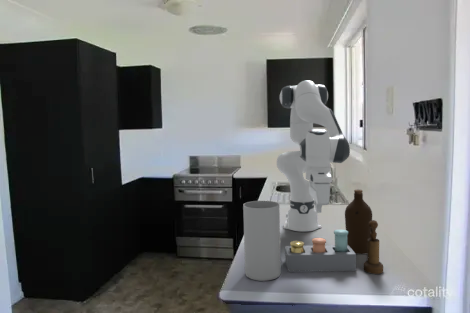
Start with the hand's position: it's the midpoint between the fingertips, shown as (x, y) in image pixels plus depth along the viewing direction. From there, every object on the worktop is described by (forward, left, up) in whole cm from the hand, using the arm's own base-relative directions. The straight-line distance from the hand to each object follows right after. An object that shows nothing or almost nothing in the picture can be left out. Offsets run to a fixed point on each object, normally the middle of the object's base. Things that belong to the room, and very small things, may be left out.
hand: (318, 211), depth 134 cm
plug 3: (0, +8, -15) cm, 17 cm away
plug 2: (0, 0, -18) cm, 18 cm away
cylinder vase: (+7, -21, -21) cm, 30 cm away
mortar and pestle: (+5, +18, -21) cm, 28 cm away
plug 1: (0, -8, -19) cm, 21 cm away
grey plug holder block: (0, 0, -20) cm, 20 cm away
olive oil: (-16, +19, -21) cm, 32 cm away
